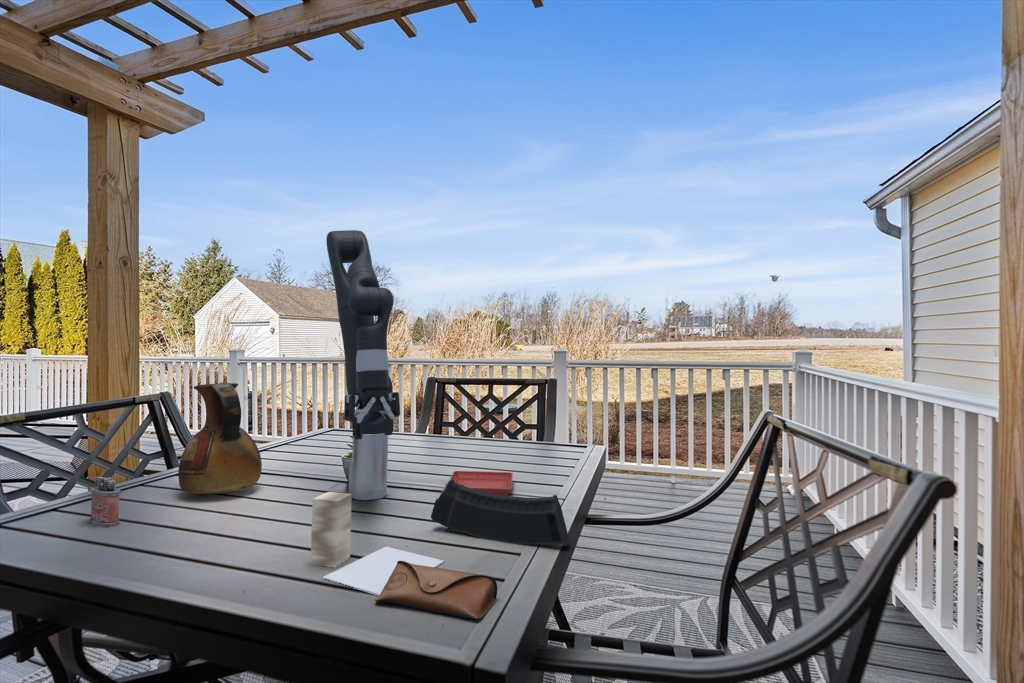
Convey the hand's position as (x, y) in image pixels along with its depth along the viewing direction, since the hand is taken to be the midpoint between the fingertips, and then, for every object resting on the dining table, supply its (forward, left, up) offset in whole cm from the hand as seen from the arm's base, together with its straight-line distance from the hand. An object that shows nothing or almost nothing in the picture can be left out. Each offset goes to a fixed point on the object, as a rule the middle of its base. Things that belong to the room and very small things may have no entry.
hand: (373, 437), depth 123 cm
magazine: (+33, +2, -19) cm, 38 cm away
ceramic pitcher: (-48, -6, -19) cm, 52 cm away
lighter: (-46, -34, -19) cm, 60 cm away
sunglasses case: (+38, -27, -19) cm, 50 cm away
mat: (+23, -22, -19) cm, 37 cm away
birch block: (+12, -24, -19) cm, 33 cm away
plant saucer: (+10, +34, -19) cm, 40 cm away
